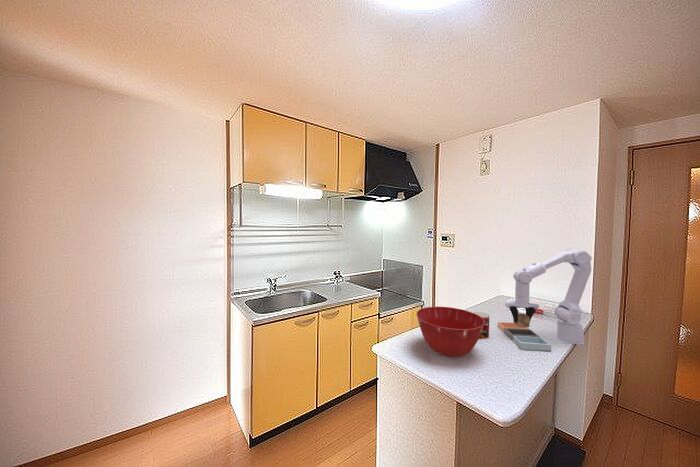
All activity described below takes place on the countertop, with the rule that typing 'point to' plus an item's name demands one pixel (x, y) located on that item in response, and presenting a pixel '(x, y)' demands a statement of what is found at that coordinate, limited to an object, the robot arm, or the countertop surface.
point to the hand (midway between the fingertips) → (521, 322)
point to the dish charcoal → (520, 333)
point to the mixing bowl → (450, 330)
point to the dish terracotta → (509, 326)
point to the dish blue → (532, 343)
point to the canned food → (486, 326)
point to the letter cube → (522, 320)
